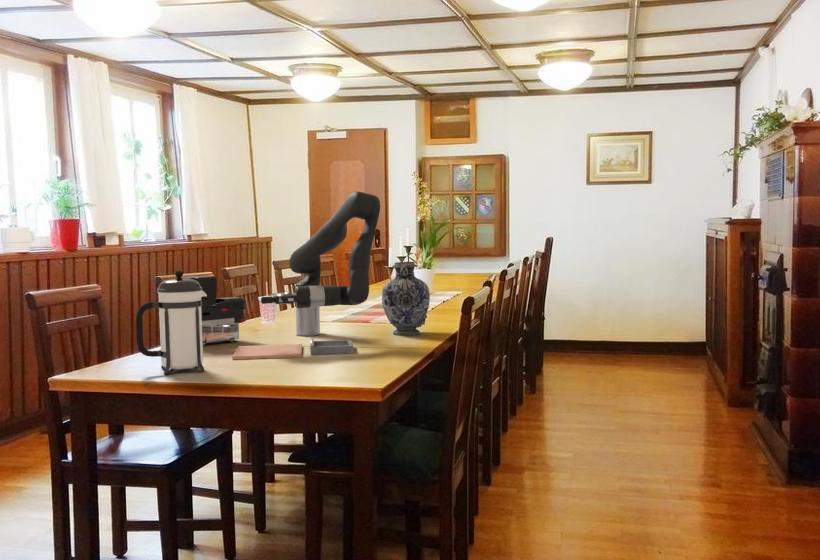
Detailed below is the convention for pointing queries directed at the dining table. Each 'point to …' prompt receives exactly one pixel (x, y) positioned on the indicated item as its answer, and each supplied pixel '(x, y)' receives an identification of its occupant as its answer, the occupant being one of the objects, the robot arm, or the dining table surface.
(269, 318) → the beverage cup
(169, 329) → the coffee press
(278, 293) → the robot arm
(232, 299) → the bill acceptor
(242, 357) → the terracotta tile
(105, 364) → the dining table surface
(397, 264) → the decorative vase
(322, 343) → the square metal frame
